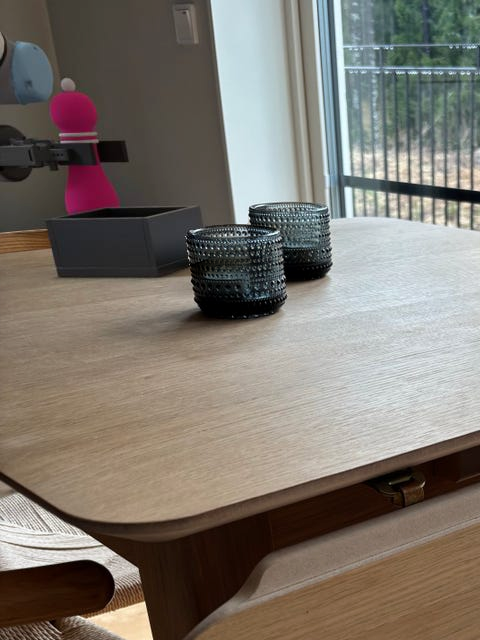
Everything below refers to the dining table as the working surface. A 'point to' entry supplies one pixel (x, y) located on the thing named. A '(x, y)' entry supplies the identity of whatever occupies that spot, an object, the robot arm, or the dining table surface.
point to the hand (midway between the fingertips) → (109, 152)
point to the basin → (122, 241)
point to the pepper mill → (78, 127)
